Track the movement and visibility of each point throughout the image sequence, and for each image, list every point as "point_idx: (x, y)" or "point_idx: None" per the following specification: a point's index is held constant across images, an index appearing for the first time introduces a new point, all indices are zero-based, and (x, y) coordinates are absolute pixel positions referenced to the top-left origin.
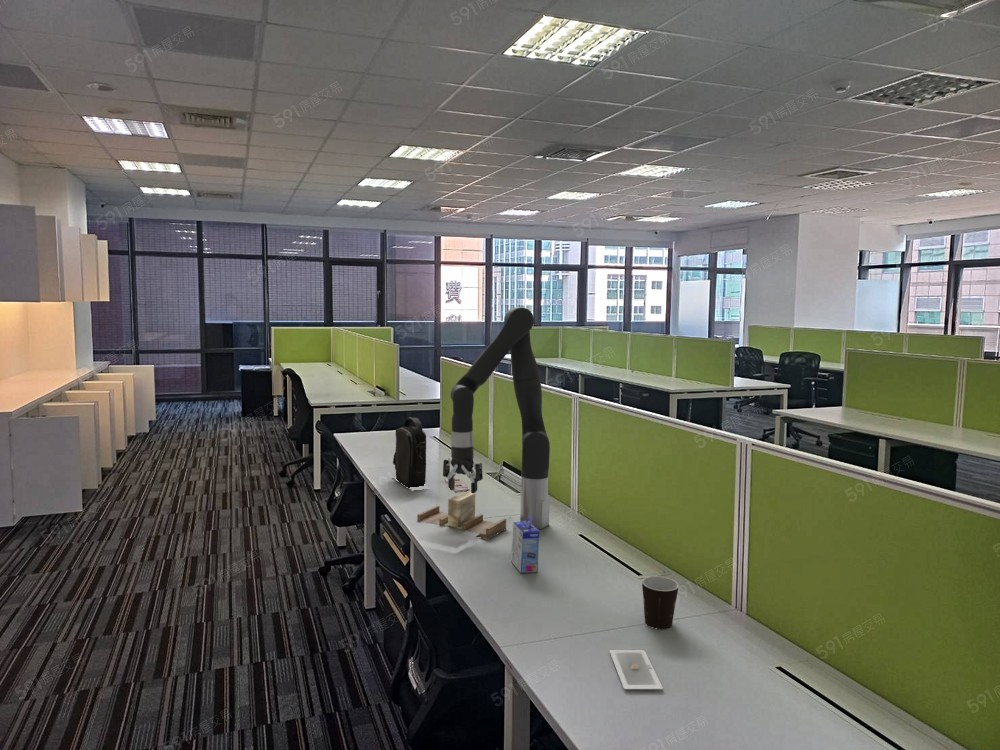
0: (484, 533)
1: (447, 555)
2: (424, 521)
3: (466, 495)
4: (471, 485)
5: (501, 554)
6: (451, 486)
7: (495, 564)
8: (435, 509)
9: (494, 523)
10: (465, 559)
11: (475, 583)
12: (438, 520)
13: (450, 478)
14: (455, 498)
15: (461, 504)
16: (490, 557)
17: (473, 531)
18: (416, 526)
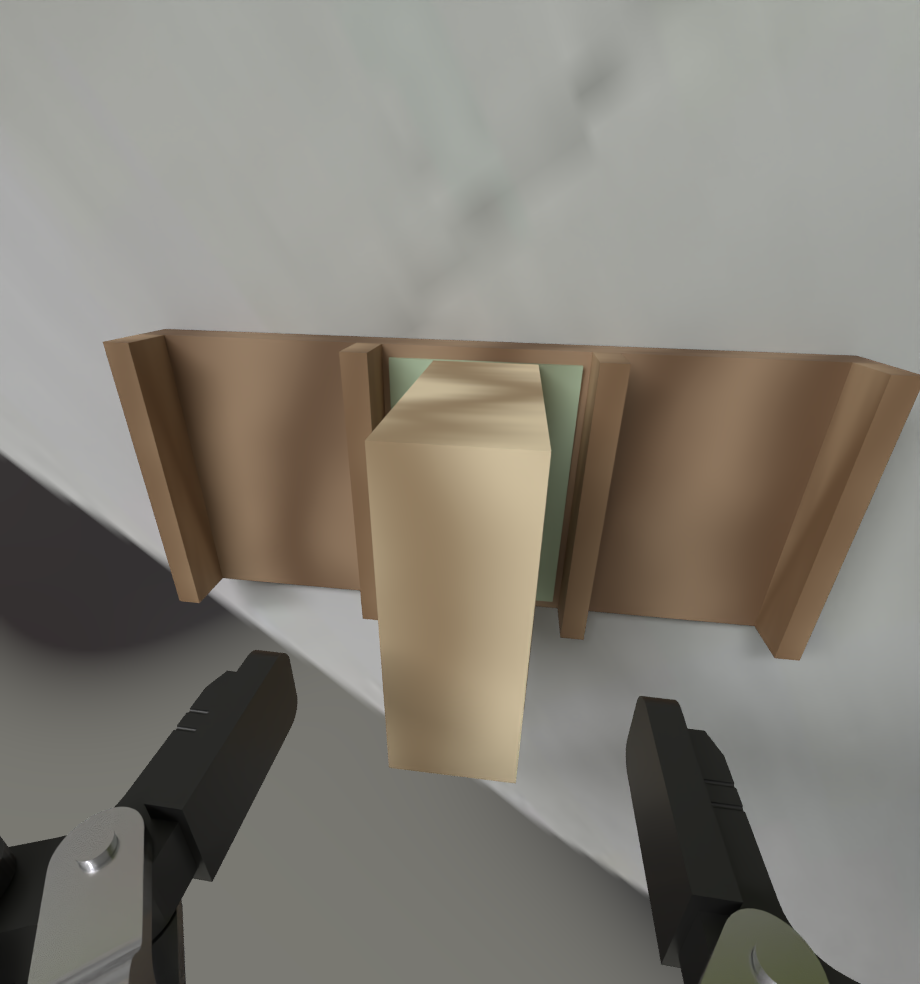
0: (737, 613)
1: (618, 819)
2: (254, 576)
3: (486, 596)
4: (657, 897)
5: (897, 751)
6: (271, 755)
7: (883, 839)
8: (155, 404)
9: (755, 382)
10: None
11: (830, 955)
12: (311, 522)
13: (180, 907)
14: (436, 729)
15: (524, 704)
16: (839, 791)
17: (646, 609)
18: (240, 585)
